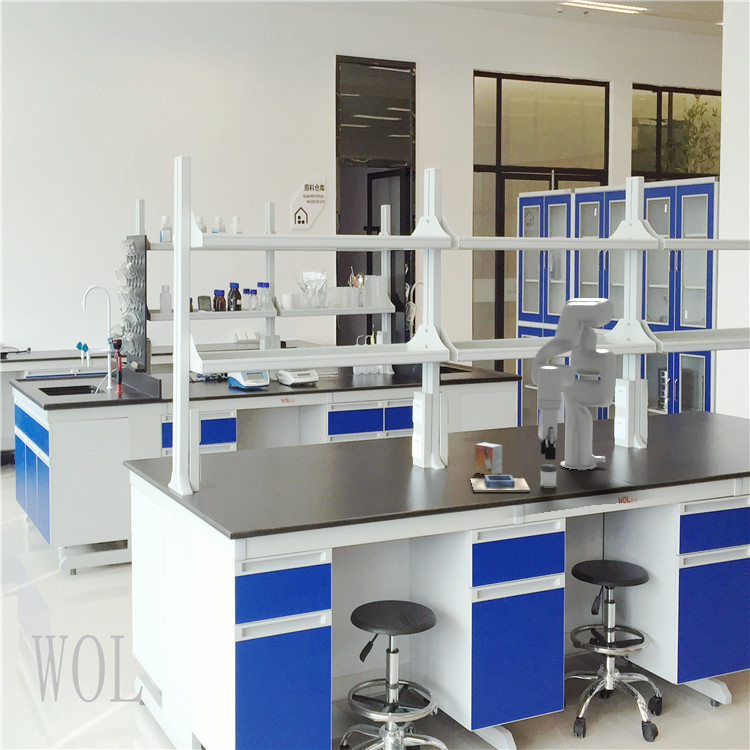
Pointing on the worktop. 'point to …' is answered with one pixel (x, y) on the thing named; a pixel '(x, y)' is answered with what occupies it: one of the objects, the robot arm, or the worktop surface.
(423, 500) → the worktop surface
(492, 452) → the small box
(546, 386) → the robot arm
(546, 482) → the gray domed white cylinder
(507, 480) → the mount plate
